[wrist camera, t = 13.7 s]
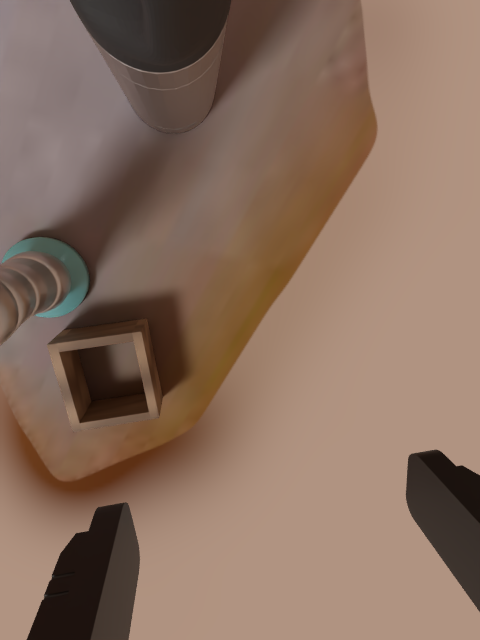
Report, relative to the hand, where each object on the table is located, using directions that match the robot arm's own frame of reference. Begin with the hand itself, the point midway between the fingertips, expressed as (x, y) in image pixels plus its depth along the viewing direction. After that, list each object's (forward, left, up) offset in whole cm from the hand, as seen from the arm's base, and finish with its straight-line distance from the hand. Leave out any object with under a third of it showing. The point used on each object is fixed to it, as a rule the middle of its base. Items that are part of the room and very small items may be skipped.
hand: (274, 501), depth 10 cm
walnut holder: (+9, -14, -35) cm, 38 cm away
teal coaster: (-3, -19, -35) cm, 39 cm away
